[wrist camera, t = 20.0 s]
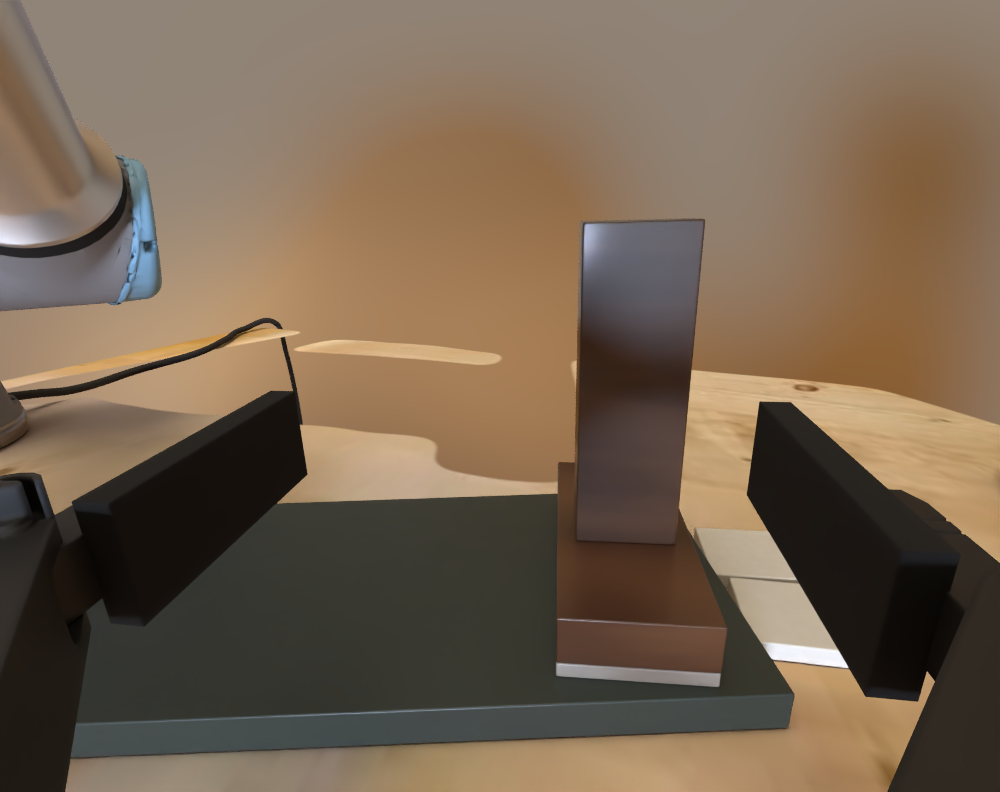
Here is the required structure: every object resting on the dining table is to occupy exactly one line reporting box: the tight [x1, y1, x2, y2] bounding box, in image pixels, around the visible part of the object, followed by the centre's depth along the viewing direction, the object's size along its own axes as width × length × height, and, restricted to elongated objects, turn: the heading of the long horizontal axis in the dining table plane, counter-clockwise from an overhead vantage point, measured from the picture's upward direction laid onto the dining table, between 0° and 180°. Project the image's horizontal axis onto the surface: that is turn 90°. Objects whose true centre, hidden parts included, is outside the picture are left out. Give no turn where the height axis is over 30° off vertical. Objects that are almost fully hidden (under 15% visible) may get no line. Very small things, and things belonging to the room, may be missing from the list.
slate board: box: [71, 494, 794, 758], centre depth 24 cm, size 14×34×2 cm, turn 92°
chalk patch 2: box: [728, 578, 849, 668], centre depth 22 cm, size 4×4×1 cm
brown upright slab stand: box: [556, 219, 727, 687], centre depth 21 cm, size 12×6×15 cm, turn 174°
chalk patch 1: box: [694, 527, 799, 589], centre depth 26 cm, size 4×4×1 cm
